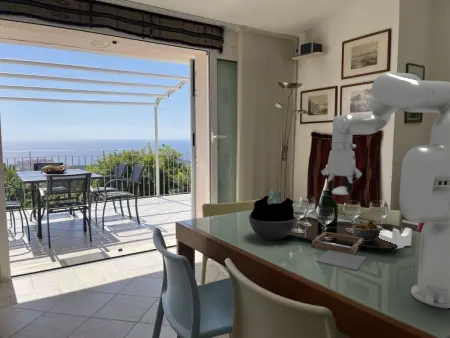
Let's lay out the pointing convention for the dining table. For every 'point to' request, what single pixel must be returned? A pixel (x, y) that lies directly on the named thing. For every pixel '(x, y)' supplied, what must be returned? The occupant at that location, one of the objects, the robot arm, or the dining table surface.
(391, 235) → the bracket
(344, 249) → the tray
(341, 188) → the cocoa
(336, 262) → the rubber mat
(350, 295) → the dining table surface
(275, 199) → the pale blue faceted lump
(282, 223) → the bowl of black rocks
